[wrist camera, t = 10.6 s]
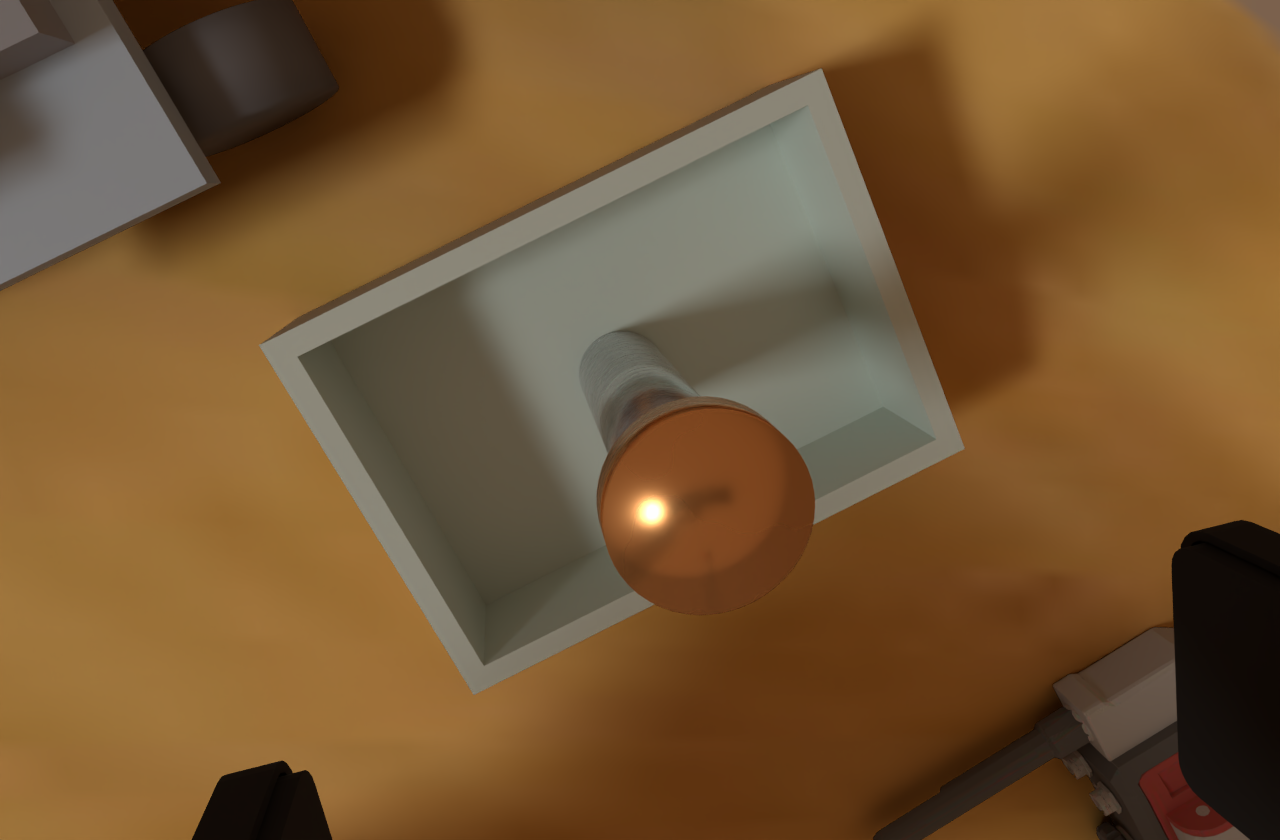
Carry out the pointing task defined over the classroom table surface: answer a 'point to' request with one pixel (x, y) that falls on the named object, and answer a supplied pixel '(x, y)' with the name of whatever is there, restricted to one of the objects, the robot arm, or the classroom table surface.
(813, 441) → the tray
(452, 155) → the classroom table surface
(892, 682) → the classroom table surface
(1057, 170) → the classroom table surface
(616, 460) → the pin
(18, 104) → the trolley
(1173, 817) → the walkie-talkie
